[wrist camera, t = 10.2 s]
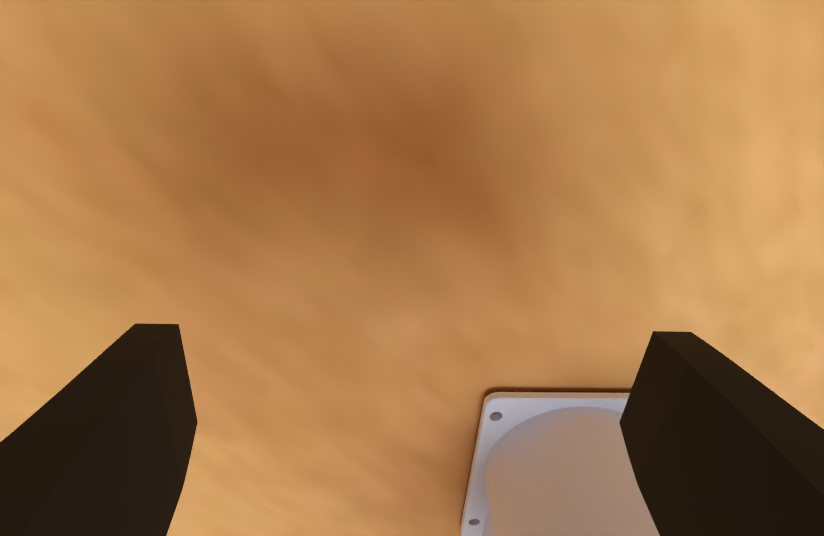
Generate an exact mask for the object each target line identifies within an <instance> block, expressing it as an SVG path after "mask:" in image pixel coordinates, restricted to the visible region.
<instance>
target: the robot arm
mask: <svg viewBox="0 0 824 536" xmlns="http://www.w3.org/2000/svg"><path fill="white" fill-rule="evenodd" d="M493 412H498V413H494V414H492V413H493ZM196 426H197V417H196V412H195V407H194V402H193V397H192V391H191V386H190V381H189V376H188V371H187V365H186V360H185V355H184V350H183V345H182V340H181V334H180V329H179V324H135V325H133V326H132V327H131V328H130V329H129V330H128V331H126V332H125V333H124V334H123V335H122V336H121V337H120V338H119V339H117V340H116V341H115V342H114V343H113V344H112V345H111V346H110V347H108V348H107V349H106V350H105V351H104V352H103V353H102V354H101V355H100V356H98V357H97V358H96V359H95V360H94V361H93V362H92V363H91V364H90V365H88V366H87V367H86V368H85V369H84V370H83V371H82V372H81V373H80V374H78V375H77V376H76V377H75V378H74V379H73V380H72V381H71V382H69V383H68V384H67V385H66V386H65V387H64V388H63V389H62V390H61V391H59V392H58V393H57V394H56V395H55V396H54V397H53V398H51V399H50V400H49V401H48V402H47V403H46V404H45V405H43V406H42V407H41V408H40V409H39V410H38V411H36V412H35V413H34V414H33V415H32V416H31V417H30V418H28V419H27V420H26V421H25V422H24V423H23V424H21V425H20V426H19V427H18V428H17V429H16V430H15V431H13V432H12V433H11V434H10V435H9V436H7V437H6V438H5V439H4V440H3V441H1V442H0V536H166V535H167V532H168V529H169V526H170V523H171V520H172V517H173V515H174V512H175V509H176V506H177V503H178V500H179V497H180V494H181V491H182V488H183V485H184V481H185V476H186V472H187V468H188V463H189V459H190V455H191V450H192V445H193V440H194V436H195V431H196ZM460 531H461V536H824V429H822V428H821V427H820V426H818V425H817V424H816V423H814V422H813V421H811V420H810V419H809V418H807V417H806V416H805V415H803V414H802V413H801V412H799V411H798V410H797V409H795V408H794V407H793V406H791V405H790V404H789V403H787V402H786V401H785V400H783V399H782V398H781V397H779V396H778V395H777V394H775V393H774V392H773V391H771V390H770V389H769V388H767V387H766V386H765V385H763V384H762V383H761V382H759V381H758V380H757V379H755V378H754V377H753V376H751V375H750V374H749V373H747V372H746V371H745V370H743V369H742V368H741V367H739V366H738V365H737V364H735V363H734V362H733V361H731V360H730V359H729V358H727V357H726V356H725V355H723V354H722V353H720V352H719V351H718V350H716V349H715V348H714V347H712V346H711V345H709V344H708V343H706V342H705V341H704V340H702V339H700V338H699V337H697V336H696V335H694V334H693V333H691V332H657V331H653V333H652V336H651V339H650V341H649V344H648V347H647V349H646V352H645V355H644V357H643V360H642V363H641V365H640V368H639V371H638V373H637V376H636V379H635V381H634V384H633V387H632V389H631V392H630V393H579V392H494V393H491V394H489V395H488V396H487V397H485V400H484V403H483V408H482V413H481V419H480V424H479V429H478V435H477V440H476V446H475V451H474V456H473V462H472V467H471V473H470V478H469V483H468V489H467V494H466V499H465V505H464V510H463V516H462V521H461V526H460Z"/></svg>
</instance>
